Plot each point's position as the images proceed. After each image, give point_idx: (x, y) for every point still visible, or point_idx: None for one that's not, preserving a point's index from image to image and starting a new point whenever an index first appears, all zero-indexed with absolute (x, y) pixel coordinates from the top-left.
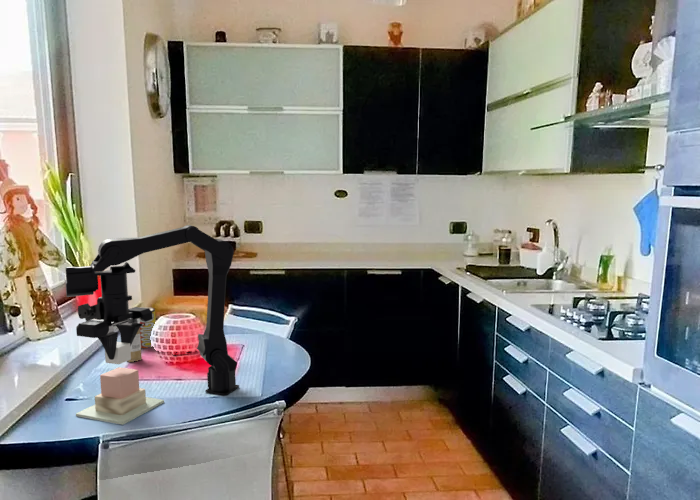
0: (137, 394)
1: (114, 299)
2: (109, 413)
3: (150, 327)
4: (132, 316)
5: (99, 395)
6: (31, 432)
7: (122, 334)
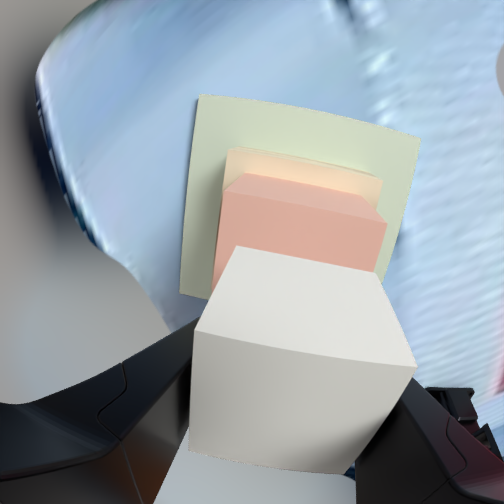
0: None
1: None
2: None
3: None
4: None
5: (242, 164)
6: (83, 66)
7: (420, 487)
